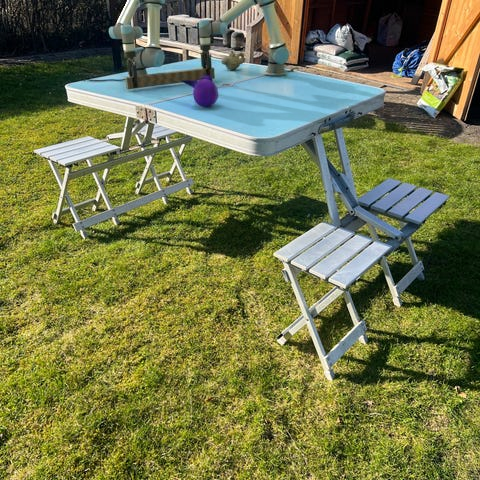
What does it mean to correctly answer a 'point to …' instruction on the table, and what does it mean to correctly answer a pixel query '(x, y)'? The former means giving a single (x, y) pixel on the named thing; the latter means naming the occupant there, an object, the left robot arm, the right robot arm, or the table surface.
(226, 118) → the table surface
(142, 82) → the bar
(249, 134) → the table surface
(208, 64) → the right robot arm
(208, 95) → the toy
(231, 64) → the teapot
